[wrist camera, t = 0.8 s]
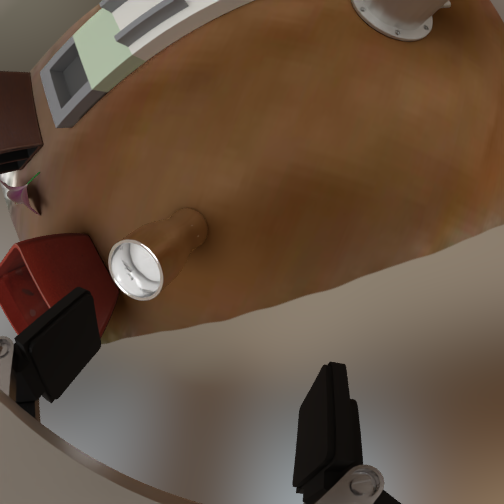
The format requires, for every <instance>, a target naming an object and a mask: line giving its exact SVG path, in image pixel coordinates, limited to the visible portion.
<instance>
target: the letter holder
mask: <svg viewBox="0 0 504 504" xmlns="http://www.w3.org/2000/svg"><path fill="white" fill-rule="evenodd" d="M42 146H43V142H42V138H41V134H40V130H39V125H38V121H37V116H36V110H35V104H34V99H33V92H32V85H31V77H30V73H28V72H8V71H7V72H5V71H0V174H3V173H7V172H11V171H16V170H21V169H23V168H24V166H25V165H26V164H27V163H28V162H29V161H30V159H31V158H32V157H33V156H34V155H35V154H36V153H37V152H38V150H39V149H40V148H41V147H42Z"/></svg>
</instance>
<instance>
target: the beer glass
mask: <svg viewBox="0 0 504 504" xmlns="http://www.w3.org/2000/svg"><path fill="white" fill-rule="evenodd" d="M207 235H208V226H207V222H206V220H205V218H204V217H203V216H202V214H201V213H199V212H198V211H196V210H194V209H191V208H182V209H179V210H177V211H176V212H174V213H173V214H172V215H171V217H170V218H169V219H164V220H159V221H154V222H151V223H148V224H145V225H143V226H141V227H139V228H137V229H136V230H134V231H133V232H131V233H130V234H128V235H127V236H126V237H124V238H123V239H122V240H121V241H119V242H117V243H116V244H115V245H114V246H113V247H112V249H111V251H110V253H109V258H108V265H109V271H110V274H111V276H112V279H113V280H114V282H115V284H116V285H117V286H118V288H119V289H120V290H121V291H122V292H123V293H125V294H126V295H128V296H129V297H131V298H133V299H136V300H142V301H145V300H150V299H153V298H154V297H156V296H157V295H158V294H159V293H160V292H161V291H162V290H163V289H165V288H166V287H167V286H168V285H169V284H170V283H171V282H172V281H173V280H174V279H175V278H176V277H177V276H178V274H179V273H180V272H181V271H182V269H183V267H184V266H185V264H186V262H187V260H188V258H189V256H190V254H191V252H192V250H193V249H195V248H197V247H199V246H201V245H202V244H203V243H204V242H205V240H206V238H207Z"/></svg>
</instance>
